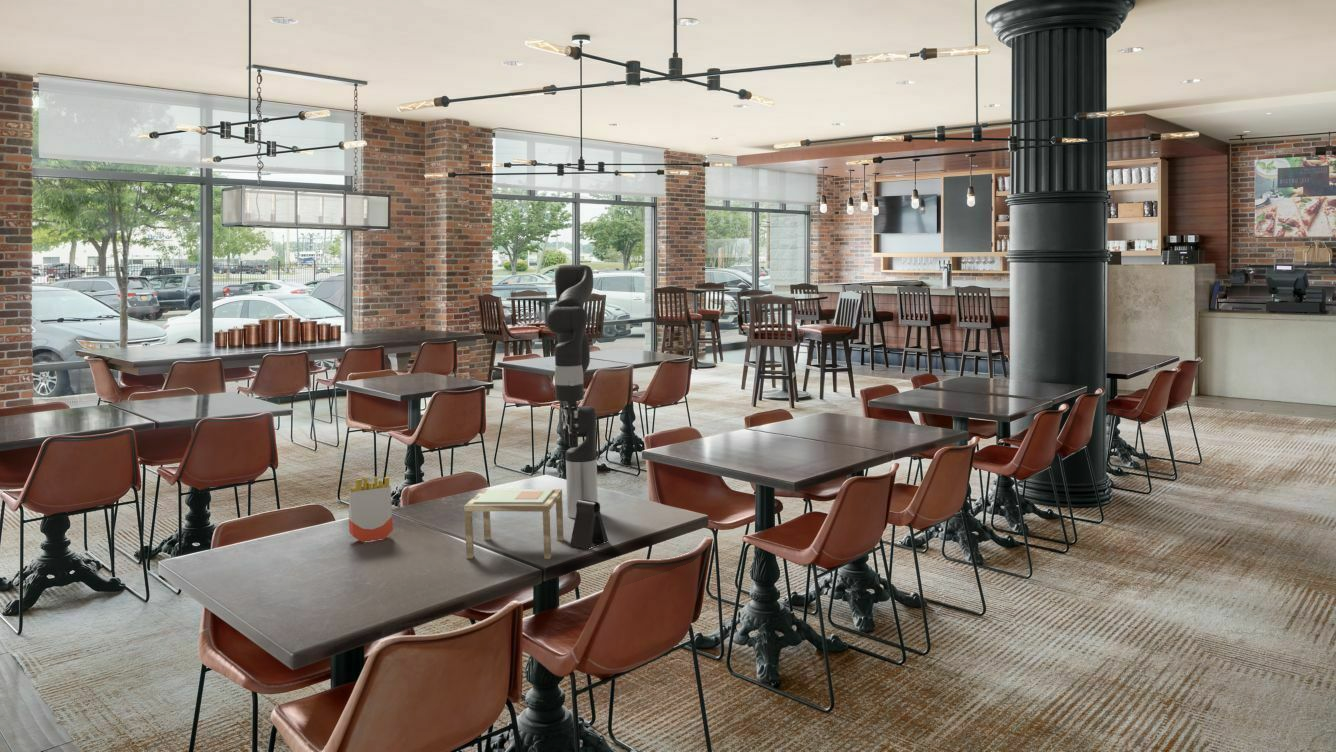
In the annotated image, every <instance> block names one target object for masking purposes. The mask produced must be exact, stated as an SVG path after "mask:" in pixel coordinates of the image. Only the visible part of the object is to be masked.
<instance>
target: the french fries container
mask: <svg viewBox="0 0 1336 752" xmlns="http://www.w3.org/2000/svg"><path fill="white" fill-rule="evenodd" d="M383 480H384V481H383ZM383 480H382V479H378V476H374V477H373V481H374V482H372V483H371V482H368V478H367V477H364V478H363V479H362V478H356V480H355V486H356V487H354V486H353V485H352V486H350V490H349V491H348V498H349V501H348V502H349V504H348V505H349V506H348V527H349V534H350V535H351V536H352V537H353V538H355V539H356V540H358V541H359V542H361V543H362V542H365V541H371V540H378V539H384V540H385V539H387V537H388V536H389V535H390V533H392V532H393V530H394V529H393V528H394V525H393V524H394V523H393V509H392V507H393V506H392V489H391V486H390V477H389V476H387V477H386V476H385V477H384V478H383ZM362 481H363V482H362ZM383 482H384V483H383Z"/></svg>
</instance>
